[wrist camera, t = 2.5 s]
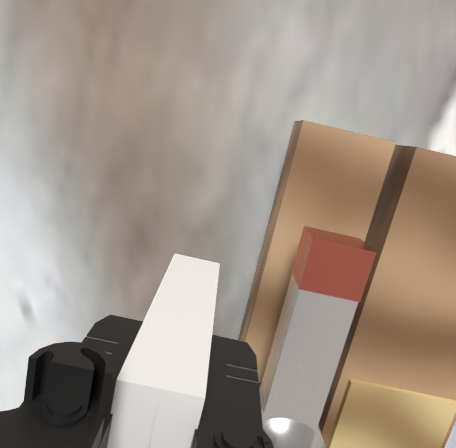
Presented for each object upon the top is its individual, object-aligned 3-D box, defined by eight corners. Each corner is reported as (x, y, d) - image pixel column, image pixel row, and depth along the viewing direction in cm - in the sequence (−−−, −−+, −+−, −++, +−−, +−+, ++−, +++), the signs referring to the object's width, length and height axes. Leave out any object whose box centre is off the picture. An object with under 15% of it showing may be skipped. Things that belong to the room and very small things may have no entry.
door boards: (400, 473, 26) (455, 584, 20) (213, 436, 25) (207, 538, 19) (519, 174, 21) (640, 193, 15) (294, 121, 21) (322, 118, 15)
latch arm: (304, 470, 21) (312, 506, 19) (222, 453, 21) (221, 489, 19) (379, 242, 18) (398, 257, 16) (284, 221, 18) (291, 233, 16)
